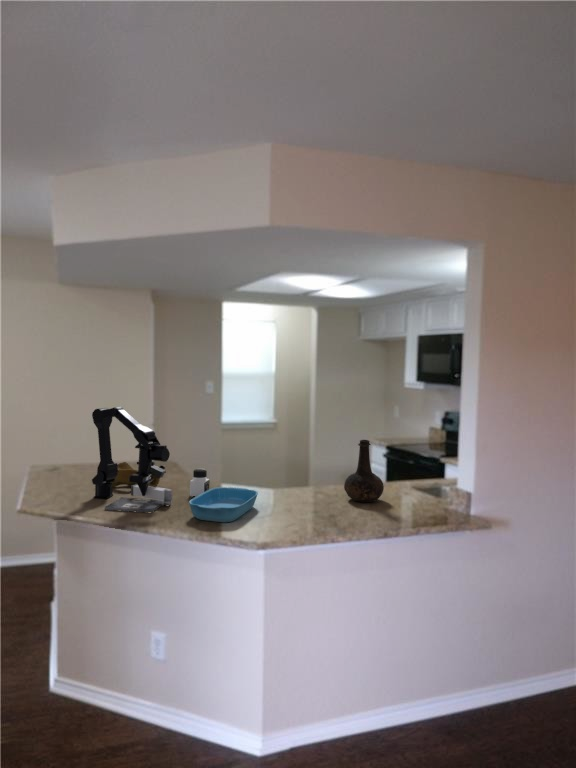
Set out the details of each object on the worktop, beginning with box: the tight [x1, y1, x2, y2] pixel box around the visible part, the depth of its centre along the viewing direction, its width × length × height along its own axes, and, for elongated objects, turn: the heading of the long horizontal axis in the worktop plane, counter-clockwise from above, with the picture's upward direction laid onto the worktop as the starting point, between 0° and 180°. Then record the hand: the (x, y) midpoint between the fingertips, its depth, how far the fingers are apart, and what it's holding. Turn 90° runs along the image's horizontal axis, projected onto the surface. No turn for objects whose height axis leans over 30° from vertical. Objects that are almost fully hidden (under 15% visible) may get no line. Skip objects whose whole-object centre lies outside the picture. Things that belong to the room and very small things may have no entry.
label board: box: [104, 497, 172, 513], centre depth 232 cm, size 24×16×2 cm
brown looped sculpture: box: [110, 461, 161, 488], centre depth 266 cm, size 18×13×22 cm
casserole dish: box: [188, 486, 259, 523], centre depth 228 cm, size 37×22×7 cm, turn 165°
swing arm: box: [130, 484, 173, 501], centre depth 239 cm, size 20×4×4 cm, turn 67°
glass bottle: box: [343, 439, 385, 503], centre depth 255 cm, size 18×18×28 cm
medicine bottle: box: [189, 468, 210, 497], centre depth 254 cm, size 7×7×12 cm
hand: (143, 495), depth 236 cm, fingers closed
